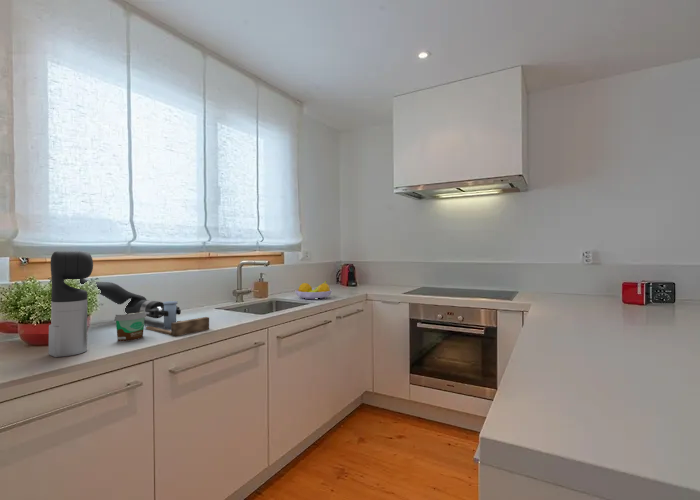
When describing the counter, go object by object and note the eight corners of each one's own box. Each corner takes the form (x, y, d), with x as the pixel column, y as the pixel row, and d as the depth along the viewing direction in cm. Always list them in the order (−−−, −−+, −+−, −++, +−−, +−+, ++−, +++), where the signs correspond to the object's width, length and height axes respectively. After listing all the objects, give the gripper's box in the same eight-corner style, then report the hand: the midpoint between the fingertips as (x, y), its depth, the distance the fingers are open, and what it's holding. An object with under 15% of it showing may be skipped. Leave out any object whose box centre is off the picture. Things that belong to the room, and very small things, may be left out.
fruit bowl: (309, 302, 228) (310, 284, 228) (287, 297, 248) (287, 281, 248) (342, 298, 247) (342, 282, 247) (319, 294, 267) (319, 279, 267)
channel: (174, 336, 136) (174, 323, 136) (146, 329, 148) (146, 317, 148) (209, 329, 149) (209, 317, 149) (180, 322, 161) (180, 312, 161)
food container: (128, 343, 126) (128, 315, 126) (114, 342, 127) (114, 315, 127) (154, 335, 138) (154, 310, 138) (140, 334, 139) (140, 309, 139)
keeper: (167, 329, 148) (167, 303, 148) (160, 327, 151) (160, 302, 151) (179, 326, 153) (180, 301, 153) (172, 325, 156) (172, 300, 156)
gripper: (136, 302, 154) (156, 306, 145) (168, 299, 166) (189, 302, 157) (136, 319, 154) (156, 324, 145) (168, 314, 166) (189, 319, 157)
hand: (173, 313), depth 151 cm, fingers closed on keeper, 4 cm apart
